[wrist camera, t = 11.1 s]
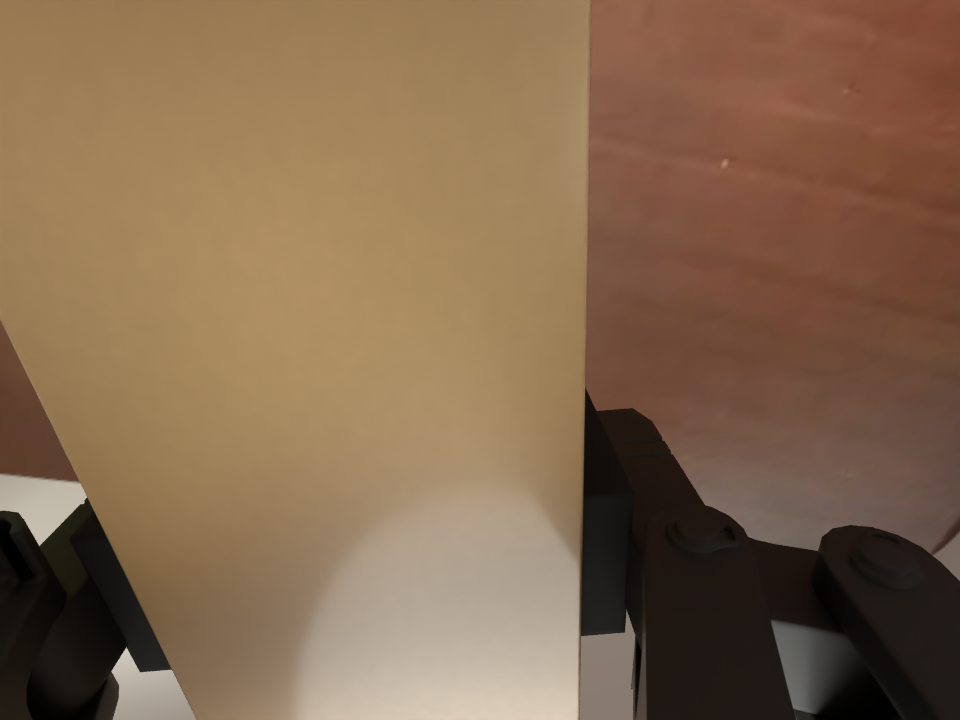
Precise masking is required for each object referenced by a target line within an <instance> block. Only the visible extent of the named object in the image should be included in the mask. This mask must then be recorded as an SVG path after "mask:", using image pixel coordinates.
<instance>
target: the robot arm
mask: <svg viewBox="0 0 960 720" xmlns="http://www.w3.org/2000/svg"><path fill="white" fill-rule="evenodd" d="M626 609H627V612H628V615H629V618H630V621H631V624H632V627H633V629H634V632H635V635H636V636H635V648H634V660H633V672H632V684H631V689H633V690H634V691H633V696H634V697H633V720H796V719H797V720H960V581H959V580H958V579H957V578H956V577H955V576H954V575H953V574H952V573H951V572H950V571H949V570H948V569H947V568H946V567H945V566H944V565H943V564H942V563H941V562H940V561H938V560H937V559H936V558H935V557H933V556H932V555H931V554H930V553H928V552H927V551H926V550H924V549H923V548H922V547H920V546H918V545H916V544H914V543H912V542H910V541H908V540H907V539H905V538H903V537H901V536H899V535H896V534H893V533H890V532H886V531H883V530H880V529H876V528H873V527H864V526H853V525H849V526H844V527H838V528H833V529H832V530H830V531H829V532H828V533H827V534H825V535H824V536H823V537H822V539H821V543H820V546H819V550H818V551H814V550H808V549H802V548H795V547H789V546H783V545H776V544H771V543H767V542H762V541H758V540H754V539H752V538H749V537H748V536H747V534H746V532H745V531H744V529H743V528H742V527H741V526H740V525H739V524H738V523H737V522H736V521H735V520H733V519H732V518H731V517H730V516H729V515H727V514H725V513H722V512H720V511H718V510H716V509H714V508H712V507H709V506H705V504H704V503H703V501H702V500H701V498H700V496H699V495H698V493H697V492H696V490H695V489H694V487H693V485H692V484H691V482H690V481H689V479H688V478H687V476H686V474H685V473H684V471H683V470H682V468H681V467H680V465H679V463H678V462H677V460H676V459H675V457H674V456H673V455H671V451H670V449H669V448H668V446H667V444H666V443H665V441H662V437H661V435H660V433H659V432H658V430H657V429H656V427H655V426H654V424H653V422H652V421H651V420H649V419H648V418H646V417H645V416H643V415H642V414H640V413H639V412H637V411H636V410H634V409H633V408H630V409H617V410H605V411H596V409H595V407H594V405H593V403H592V401H591V399H590V397H589V394H588V392H587V390H586V388H585V427H584V487H583V546H582V606H581V636H587V635H599V634H611V633H624V632H625V623H626ZM126 647H127V649H128V651H129V652H130V654H131V656H132V658H133V660H134V662H135V664H136V665H137V667H138V669H139V671H140V672H147V671H160V670H172V669H171V667H170V664H169V662H168V660H167V658H166V656H165V654H164V652H163V650H162V648H161V646H160V644H159V642H158V640H157V638H156V636H155V634H154V632H153V630H152V628H151V626H150V624H149V622H148V620H147V618H146V616H145V614H144V612H143V609H142V607H141V605H140V603H139V601H138V599H137V597H136V595H135V593H134V591H133V589H132V587H131V585H130V583H129V581H128V579H127V577H126V575H125V573H124V571H123V569H122V567H121V565H120V563H119V561H118V559H117V556H116V554H115V552H114V550H113V548H112V546H111V544H110V542H109V540H108V538H107V536H106V534H105V532H104V530H103V528H102V526H101V524H100V522H99V520H98V518H97V516H96V514H95V512H94V510H93V508H92V506H91V503H90V501H89V499H88V497H87V498H86V499H85V503H84V504H81V505H79V506H78V507H77V508H76V510H74V512H73V513H72V514H71V515H70V516H69V517H68V518H67V519H66V520H65V521H64V522H63V523H62V524H61V525H60V526H59V527H58V528H57V529H56V530H55V531H54V532H53V533H52V534H51V535H50V536H49V537H48V538H47V539H46V540H45V541H44V542H43V543H42V544H41V545H40V546H39V545H38V543H37V542H36V540H35V538H34V536H33V535H32V533H31V531H30V529H29V528H28V526H27V524H26V522H25V521H24V519H23V518H22V517H21V515H20V514H19V513H17V512H9V511H0V720H113V716H114V713H115V709H116V706H117V702H118V697H119V685H118V683H117V681H116V679H115V677H114V676H113V674H112V672H111V671H112V669H113V667H114V666H115V664H116V663H117V661H118V660H119V658H120V656H121V655H122V653H123V651H124V650H125V648H126Z"/></svg>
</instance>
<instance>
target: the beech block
mask: <svg viewBox="0 0 960 720" xmlns="http://www.w3.org/2000/svg"><path fill="white" fill-rule="evenodd" d="M591 9H592V0H0V320H1V322H2V324H3V326H4V328H5V330H6V332H7V334H8V336H9V338H10V340H11V343H12V345H13V347H14V349H15V351H16V353H17V355H18V357H19V359H20V361H21V363H22V365H23V367H24V369H25V371H26V373H27V375H28V377H29V379H30V381H31V383H32V385H33V387H34V389H35V391H36V393H37V395H38V398H39V400H40V402H41V404H42V406H43V408H44V410H45V412H46V414H47V416H48V418H49V420H50V422H51V424H52V426H53V428H54V430H55V432H56V434H57V436H58V438H59V440H60V442H61V444H62V446H63V448H64V451H65V453H66V455H67V457H68V459H69V461H70V463H71V465H72V467H73V469H74V471H75V473H76V475H77V477H78V479H79V481H80V483H81V485H82V487H83V489H84V491H85V493H86V495H87V497H88V499H89V501H90V503H91V506H92V508H93V510H94V512H95V514H96V516H97V518H98V520H99V522H100V524H101V526H102V528H103V530H104V532H105V534H106V536H107V538H108V540H109V542H110V544H111V546H112V548H113V550H114V552H115V554H116V556H117V559H118V561H119V563H120V565H121V567H122V569H123V571H124V573H125V575H126V577H127V579H128V581H129V583H130V585H131V587H132V589H133V591H134V593H135V595H136V597H137V599H138V601H139V603H140V605H141V607H142V609H143V612H144V614H145V616H146V618H147V620H148V622H149V624H150V626H151V628H152V630H153V632H154V634H155V636H156V638H157V640H158V642H159V644H160V646H161V648H162V650H163V652H164V654H165V656H166V658H167V660H168V662H169V664H170V667H171V669H172V671H173V673H174V675H175V677H176V679H177V681H178V683H179V684H180V687H181V689H182V691H183V693H184V695H185V697H186V699H187V701H188V703H189V705H190V707H191V709H192V711H193V713H194V715H195V717H196V720H580V666H581V665H580V664H581V606H582V546H583V487H584V427H585V367H586V308H587V248H588V188H589V129H590V69H591Z"/></svg>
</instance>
